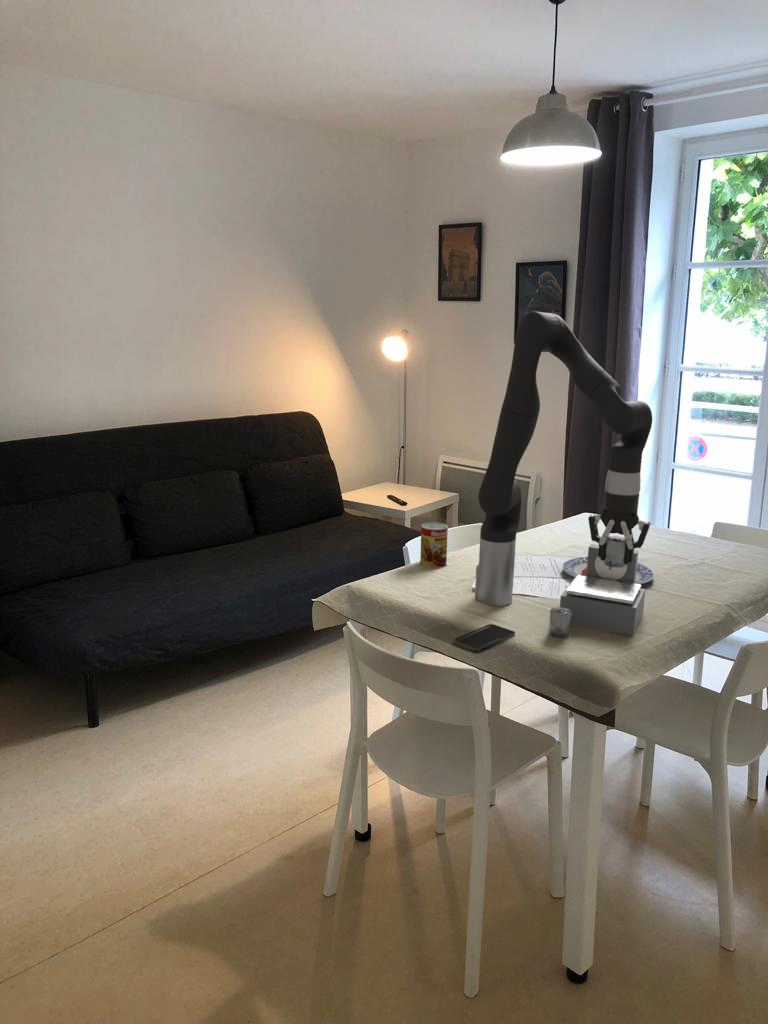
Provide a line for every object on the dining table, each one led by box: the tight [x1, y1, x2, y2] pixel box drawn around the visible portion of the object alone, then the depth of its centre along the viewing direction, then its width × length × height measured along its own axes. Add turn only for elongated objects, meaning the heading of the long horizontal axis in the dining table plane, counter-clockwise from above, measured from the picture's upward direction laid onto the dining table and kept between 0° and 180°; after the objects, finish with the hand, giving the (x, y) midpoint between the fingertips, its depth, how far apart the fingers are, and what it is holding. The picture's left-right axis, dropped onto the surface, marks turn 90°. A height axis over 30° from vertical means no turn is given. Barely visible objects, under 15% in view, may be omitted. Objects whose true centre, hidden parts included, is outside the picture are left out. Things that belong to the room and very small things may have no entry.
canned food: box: [419, 522, 449, 569], centre depth 247 cm, size 8×8×12 cm
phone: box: [453, 623, 516, 653], centre depth 194 cm, size 8×1×15 cm
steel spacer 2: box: [604, 535, 628, 568], centre depth 190 cm, size 5×5×6 cm
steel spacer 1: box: [548, 606, 572, 640], centre depth 197 cm, size 5×5×6 cm
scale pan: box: [565, 575, 642, 604], centre depth 206 cm, size 16×13×1 cm
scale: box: [559, 543, 646, 636], centre depth 207 cm, size 18×18×16 cm
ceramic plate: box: [562, 556, 655, 585], centre depth 240 cm, size 26×26×3 cm
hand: (615, 561), depth 191 cm, fingers closed on steel spacer 2, 5 cm apart
